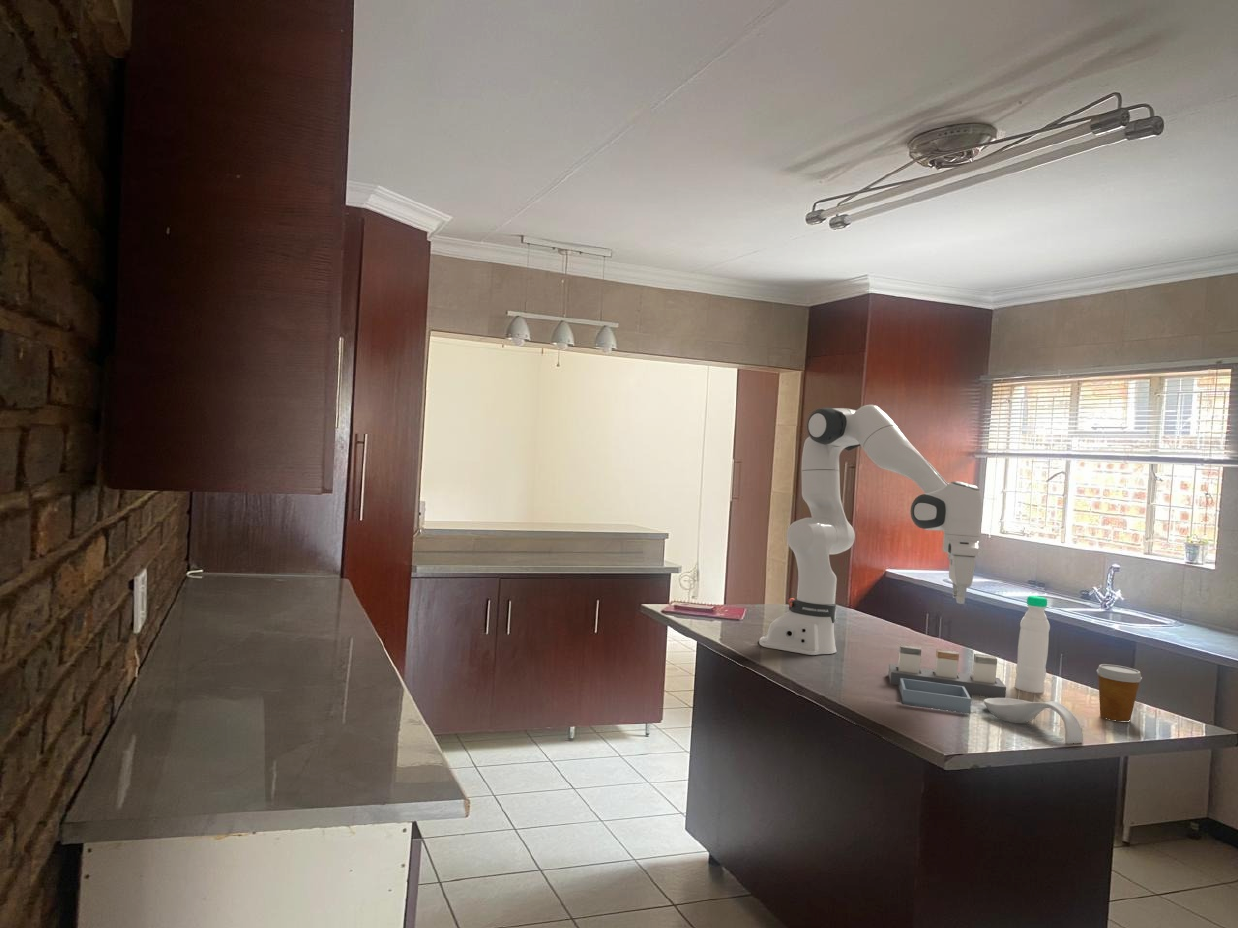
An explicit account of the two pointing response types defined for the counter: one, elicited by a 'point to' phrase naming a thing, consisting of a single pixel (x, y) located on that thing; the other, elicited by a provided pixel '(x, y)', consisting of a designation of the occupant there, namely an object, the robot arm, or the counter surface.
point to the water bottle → (1033, 647)
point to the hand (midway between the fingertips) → (958, 601)
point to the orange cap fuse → (946, 663)
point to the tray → (934, 695)
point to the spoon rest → (1034, 714)
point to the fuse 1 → (909, 658)
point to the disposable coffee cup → (1117, 691)
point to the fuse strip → (951, 681)
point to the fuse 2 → (984, 668)
